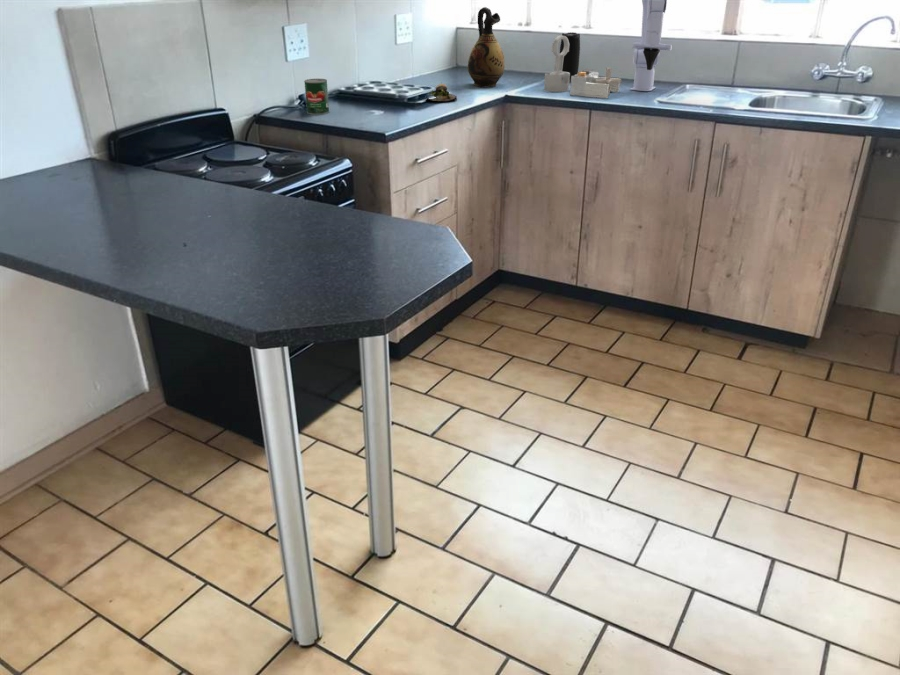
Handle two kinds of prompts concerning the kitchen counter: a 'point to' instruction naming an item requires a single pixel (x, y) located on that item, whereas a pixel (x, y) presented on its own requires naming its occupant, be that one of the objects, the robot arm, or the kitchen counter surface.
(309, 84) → the canned tomato
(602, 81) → the pipe connector
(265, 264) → the kitchen counter surface
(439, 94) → the burger
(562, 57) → the engine component
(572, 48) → the portable speaker
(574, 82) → the motor housing
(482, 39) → the ceramic jug
